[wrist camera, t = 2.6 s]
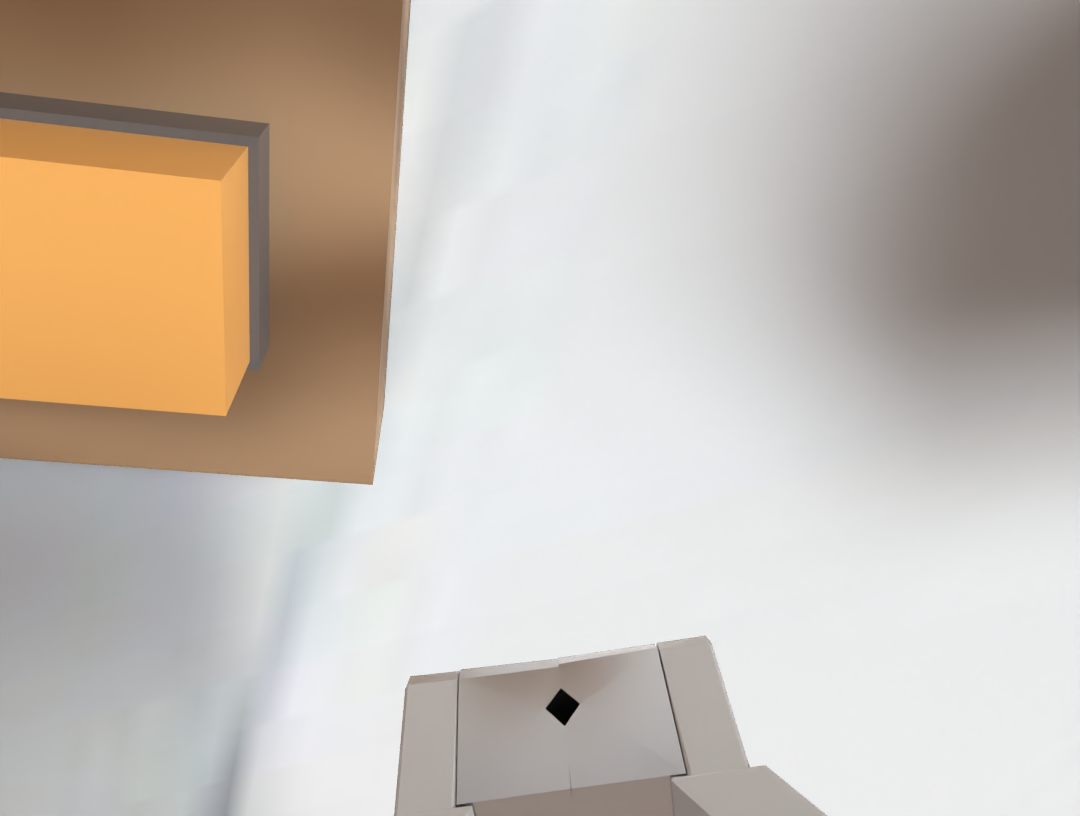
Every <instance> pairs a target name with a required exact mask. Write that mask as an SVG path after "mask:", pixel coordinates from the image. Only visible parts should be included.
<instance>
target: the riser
mask: <svg viewBox="0 0 1080 816" xmlns="http://www.w3.org/2000/svg"><path fill="white" fill-rule="evenodd" d="M410 3H411V0H0V92H6V93H14V94H23V95H31V96H40V97H48V98H57V99H65V100H74V101H82V102H91V103H99V104H108V105H116V106H125V107H134V108H142V109H151V110H159V111H168V112H176V113H185V114H193V115H202V116H210V117H219V118H227V119H236V120H244V121H253V122H261V123H270V130H269V348H268V351H267V353H266V356H265V358H264V361H263V363H262V365H261V368H260V370H259V371H257V370H246V371H245V374H244V376H243V378H242V380H241V383H240V385H239V387H238V390H237V392H236V394H235V397H234V399H233V401H232V403H231V406H230V408H229V410H228V413H227V415H226V416H218V415H206V414H193V413H180V412H168V411H155V410H143V409H130V408H118V407H105V406H92V405H80V404H67V403H55V402H42V401H29V400H17V399H4V398H0V458H9V459H23V460H37V461H51V462H65V463H79V464H92V465H106V466H120V467H134V468H148V469H162V470H176V471H190V472H203V473H217V474H231V475H245V476H259V477H273V478H287V479H301V480H314V481H328V482H342V483H356V484H370V485H373V479H374V472H375V465H376V458H377V451H378V444H379V437H380V430H381V423H382V417H383V410H384V398H385V383H386V367H387V352H388V337H389V322H390V307H391V292H392V276H393V261H394V246H395V231H396V216H397V201H398V185H399V170H400V155H401V140H402V125H403V110H404V94H405V79H406V64H407V49H408V34H409V19H410Z"/></svg>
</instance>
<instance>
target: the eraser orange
mask: <svg viewBox="0 0 1080 816" xmlns="http://www.w3.org/2000/svg"><path fill="white" fill-rule="evenodd" d="M269 130H270V123H261V122H253V121H244V120H236V119H227V118H219V117H210V116H202V115H193V114H185V113H176V112H168V111H159V110H151V109H142V108H134V107H125V106H116V105H108V104H99V103H91V102H82V101H74V100H65V99H57V98H48V97H40V96H31V95H23V94H14V93H6V92H0V398H4V399H17V400H29V401H42V402H55V403H67V404H80V405H92V406H105V407H118V408H130V409H143V410H155V411H168V412H180V413H193V414H206V415H218V416H226V415H227V413H228V410H229V408H230V406H231V403H232V401H233V399H234V397H235V394H236V392H237V390H238V387H239V385H240V383H241V380H242V378H243V376H244V374H245V371H246V370H257V371H259V370H260V368H261V365H262V363H263V361H264V358H265V356H266V353H267V351H268V348H269Z"/></svg>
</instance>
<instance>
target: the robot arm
mask: <svg viewBox="0 0 1080 816" xmlns="http://www.w3.org/2000/svg"><path fill="white" fill-rule="evenodd" d="M394 816H827V815H826V814H825V813H823V812H822V811H821V810H820V809H819V808H817V807H816V806H815V805H814V804H812V803H811V802H810V801H809V800H807V799H806V798H805V797H804V796H802V795H801V794H800V793H799V792H798V791H796V790H795V789H794V788H793V787H791V786H790V785H789V784H788V783H786V782H785V781H784V780H783V779H782V778H780V777H779V776H778V775H777V774H775V773H774V772H773V771H772V770H770V769H769V768H768V767H767V766H756V767H749V763H748V760H747V757H746V754H745V750H744V747H743V744H742V741H741V737H740V734H739V731H738V728H737V724H736V721H735V718H734V715H733V711H732V708H731V705H730V702H729V698H728V695H727V692H726V689H725V685H724V682H723V679H722V676H721V672H720V669H719V666H718V663H717V659H716V656H715V653H714V650H713V646H712V643H711V641H710V640H709V639H708V638H707V637H706V636H700V637H694V638H687V639H681V640H674V641H667V642H661V643H657V645H655V644H650V645H643V646H636V647H629V648H623V649H616V650H609V651H602V652H595V653H589V654H582V655H575V656H568V657H562V658H558V659H550V660H542V661H533V662H524V663H515V664H506V665H498V666H489V667H480V668H471V669H462V670H461V671H456V672H447V673H438V674H428V675H419V676H410V679H409V681H408V684H407V686H406V689H405V698H404V710H403V721H402V733H401V744H400V756H399V767H398V779H397V790H396V801H395V813H394Z"/></svg>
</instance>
